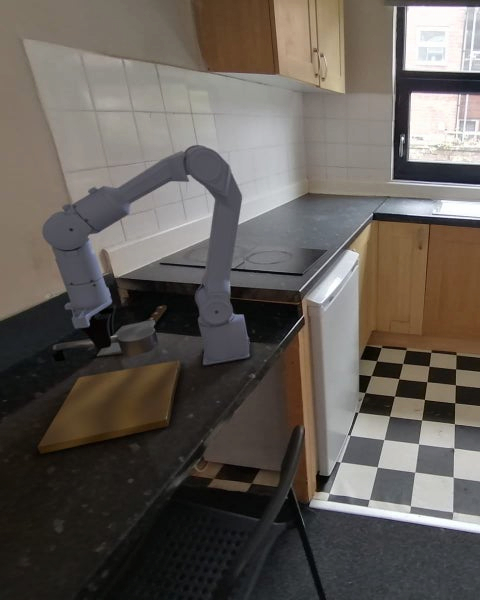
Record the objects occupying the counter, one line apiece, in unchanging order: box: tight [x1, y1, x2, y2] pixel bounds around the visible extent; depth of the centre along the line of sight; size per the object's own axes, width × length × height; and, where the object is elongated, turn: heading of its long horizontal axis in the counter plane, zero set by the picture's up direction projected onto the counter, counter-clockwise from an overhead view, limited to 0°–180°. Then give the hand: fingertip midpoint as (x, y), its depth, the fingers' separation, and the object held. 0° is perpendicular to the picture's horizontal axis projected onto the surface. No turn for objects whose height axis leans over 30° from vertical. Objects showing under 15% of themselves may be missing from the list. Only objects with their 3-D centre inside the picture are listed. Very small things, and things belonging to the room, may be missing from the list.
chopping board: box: [37, 359, 182, 455], centre depth 75 cm, size 18×20×2 cm
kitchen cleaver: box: [96, 304, 168, 357], centre depth 101 cm, size 24×1×10 cm
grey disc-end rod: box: [52, 325, 159, 363], centre depth 78 cm, size 17×6×3 cm, turn 110°
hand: (105, 344), depth 78 cm, fingers closed on grey disc-end rod
